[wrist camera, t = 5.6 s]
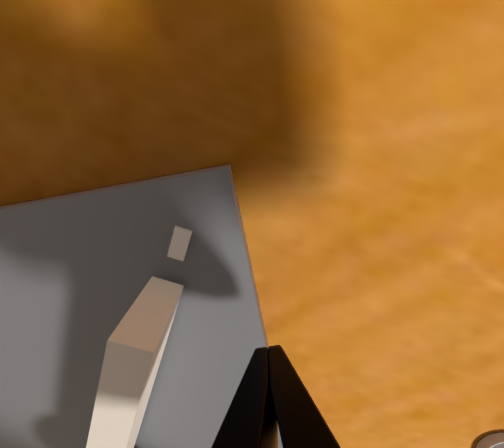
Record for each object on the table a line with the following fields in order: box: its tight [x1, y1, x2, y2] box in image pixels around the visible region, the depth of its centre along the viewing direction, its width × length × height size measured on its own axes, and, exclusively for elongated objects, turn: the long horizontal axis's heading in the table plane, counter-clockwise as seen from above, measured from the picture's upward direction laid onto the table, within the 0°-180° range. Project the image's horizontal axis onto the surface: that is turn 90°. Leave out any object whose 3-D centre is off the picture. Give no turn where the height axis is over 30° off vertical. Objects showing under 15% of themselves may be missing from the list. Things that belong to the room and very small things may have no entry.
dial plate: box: [0, 164, 283, 448], centre depth 12 cm, size 17×19×1 cm
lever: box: [86, 276, 184, 448], centre depth 10 cm, size 14×3×3 cm, turn 160°
